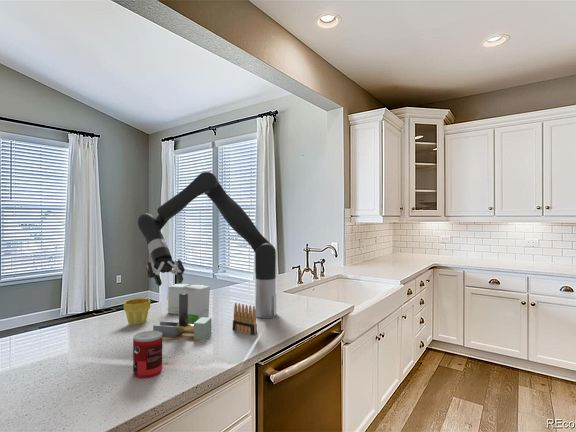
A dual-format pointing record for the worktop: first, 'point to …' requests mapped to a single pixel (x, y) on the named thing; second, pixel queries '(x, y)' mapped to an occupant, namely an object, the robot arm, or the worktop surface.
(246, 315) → the ammunition clip
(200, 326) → the socket block
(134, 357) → the canned food
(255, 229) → the robot arm
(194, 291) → the skincare box
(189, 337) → the oak board
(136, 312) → the plant pot
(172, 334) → the grey bolt guide channel
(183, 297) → the slide bolt
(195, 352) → the worktop surface
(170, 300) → the supplement box
